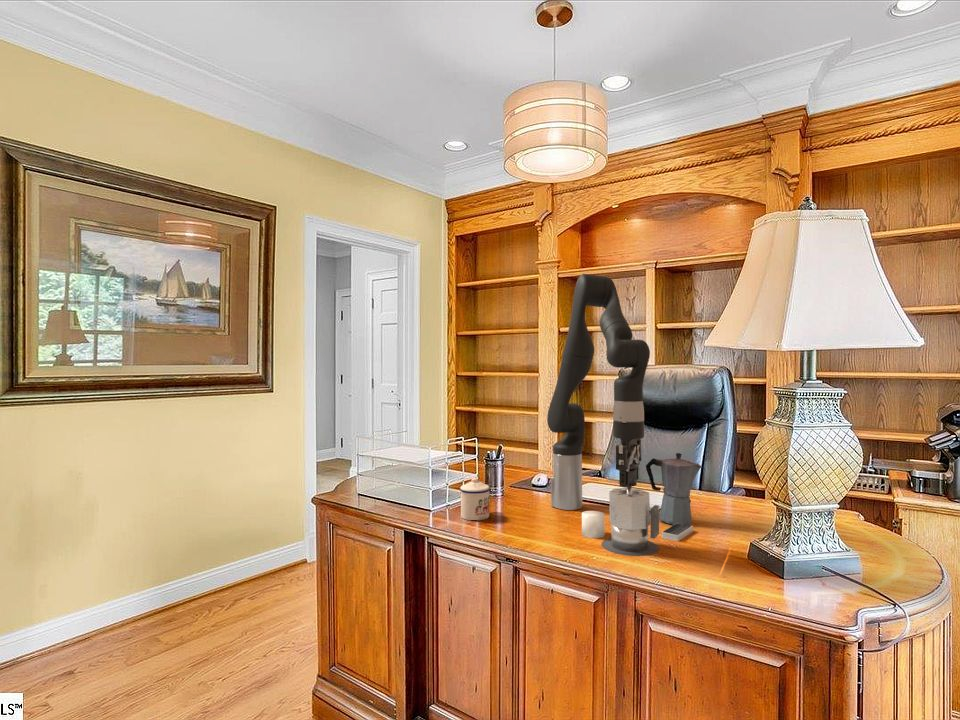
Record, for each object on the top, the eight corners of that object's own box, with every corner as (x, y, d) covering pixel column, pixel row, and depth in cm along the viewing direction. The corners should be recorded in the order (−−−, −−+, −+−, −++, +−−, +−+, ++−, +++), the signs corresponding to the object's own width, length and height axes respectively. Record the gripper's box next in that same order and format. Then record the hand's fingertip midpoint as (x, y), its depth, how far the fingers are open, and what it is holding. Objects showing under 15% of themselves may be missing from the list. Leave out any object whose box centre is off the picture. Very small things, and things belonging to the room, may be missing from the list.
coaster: (593, 551, 133) (593, 549, 133) (611, 535, 145) (611, 533, 145) (651, 561, 126) (651, 559, 126) (664, 543, 138) (664, 542, 138)
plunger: (617, 521, 135) (617, 465, 135) (623, 516, 139) (622, 462, 139) (636, 524, 132) (635, 467, 133) (641, 519, 136) (640, 464, 136)
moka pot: (705, 528, 151) (705, 456, 151) (648, 525, 154) (647, 455, 154) (698, 518, 160) (698, 450, 160) (644, 515, 163) (644, 449, 163)
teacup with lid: (478, 523, 157) (478, 483, 157) (454, 518, 163) (453, 479, 163) (501, 513, 167) (500, 475, 167) (477, 508, 172) (476, 472, 172)
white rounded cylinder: (578, 537, 144) (578, 515, 144) (586, 531, 149) (586, 509, 149) (600, 541, 141) (600, 518, 141) (607, 534, 146) (607, 512, 146)
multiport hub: (661, 540, 142) (661, 531, 142) (677, 530, 150) (677, 522, 150) (678, 544, 139) (677, 535, 139) (693, 533, 147) (693, 525, 147)
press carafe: (606, 548, 134) (606, 493, 134) (617, 537, 142) (617, 486, 142) (652, 556, 128) (651, 499, 128) (661, 545, 136) (660, 491, 136)
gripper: (622, 415, 144) (622, 476, 144) (604, 420, 132) (605, 487, 132) (650, 416, 140) (651, 479, 140) (635, 422, 128) (636, 490, 128)
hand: (629, 483), depth 136 cm, fingers open, 8 cm apart
